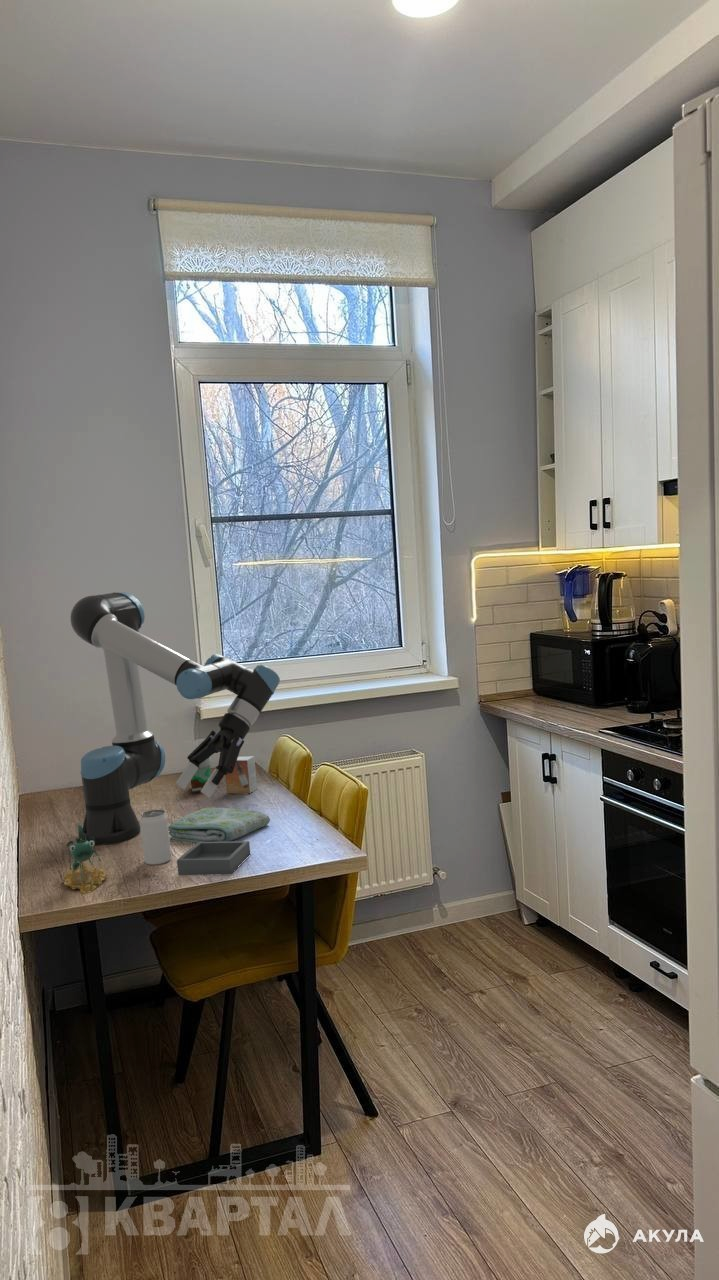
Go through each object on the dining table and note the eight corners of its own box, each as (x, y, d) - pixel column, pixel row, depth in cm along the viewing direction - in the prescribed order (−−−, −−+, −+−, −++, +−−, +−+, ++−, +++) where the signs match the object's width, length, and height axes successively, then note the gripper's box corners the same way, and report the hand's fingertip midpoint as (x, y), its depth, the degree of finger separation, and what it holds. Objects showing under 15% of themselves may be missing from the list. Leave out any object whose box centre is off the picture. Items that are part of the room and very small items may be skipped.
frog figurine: (105, 866, 225) (99, 808, 222) (110, 898, 209) (104, 836, 206) (64, 873, 222) (57, 815, 220) (65, 906, 206) (59, 844, 203)
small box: (226, 794, 284) (223, 760, 283) (234, 789, 289) (230, 756, 288) (250, 793, 282) (247, 760, 281) (257, 788, 287) (254, 755, 286)
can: (176, 856, 228) (170, 808, 226) (164, 865, 221) (159, 816, 220) (151, 856, 229) (146, 809, 228) (139, 865, 223) (134, 817, 222)
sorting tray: (178, 874, 214) (176, 860, 213) (200, 855, 226) (198, 841, 226) (231, 874, 211) (229, 859, 210) (250, 855, 223) (249, 841, 223)
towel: (210, 820, 258) (208, 802, 258) (271, 826, 247) (269, 807, 247) (165, 840, 243) (163, 821, 242) (228, 848, 232) (226, 828, 231)
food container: (211, 793, 286) (207, 761, 285) (191, 795, 286) (187, 763, 285) (217, 783, 299) (214, 752, 298) (198, 784, 299) (195, 754, 298)
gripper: (274, 733, 229) (227, 806, 222) (225, 723, 249) (180, 790, 242) (253, 715, 226) (204, 790, 218) (205, 707, 246) (159, 775, 238)
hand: (192, 790), depth 230 cm, fingers open, 13 cm apart
